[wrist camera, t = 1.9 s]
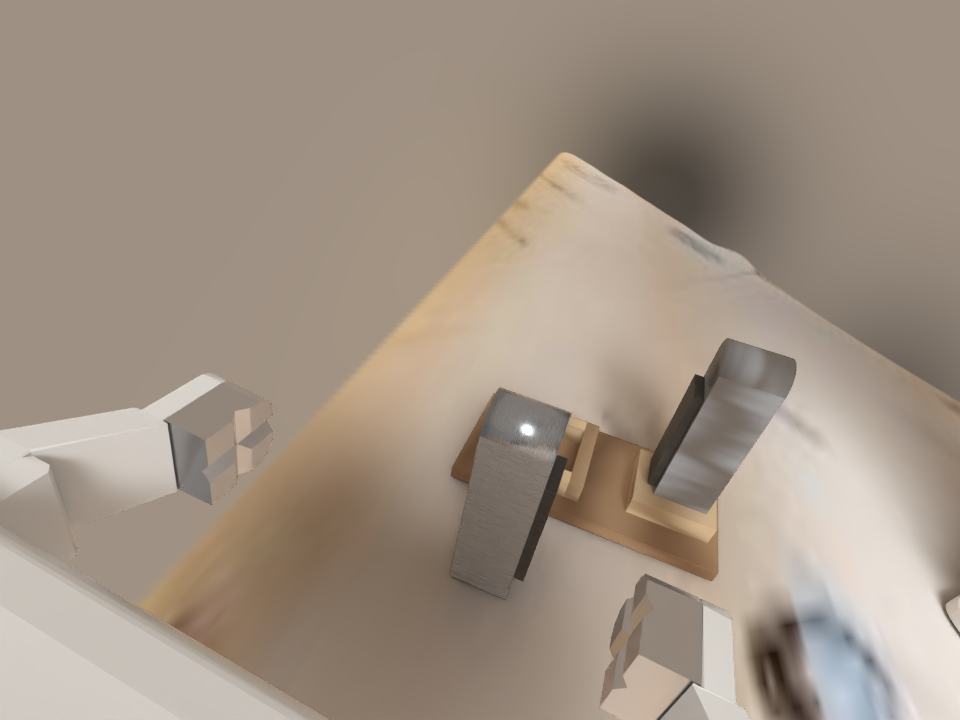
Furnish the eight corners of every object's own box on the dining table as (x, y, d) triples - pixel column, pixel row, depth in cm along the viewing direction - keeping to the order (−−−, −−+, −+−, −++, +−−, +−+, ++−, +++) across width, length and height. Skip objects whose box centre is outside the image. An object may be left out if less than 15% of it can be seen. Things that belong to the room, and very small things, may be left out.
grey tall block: (528, 561, 33) (587, 405, 25) (514, 603, 31) (574, 446, 23) (467, 535, 34) (505, 375, 26) (449, 574, 32) (484, 412, 23)
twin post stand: (711, 482, 41) (810, 331, 32) (711, 581, 34) (837, 421, 25) (491, 402, 44) (527, 245, 36) (450, 476, 37) (482, 304, 29)
